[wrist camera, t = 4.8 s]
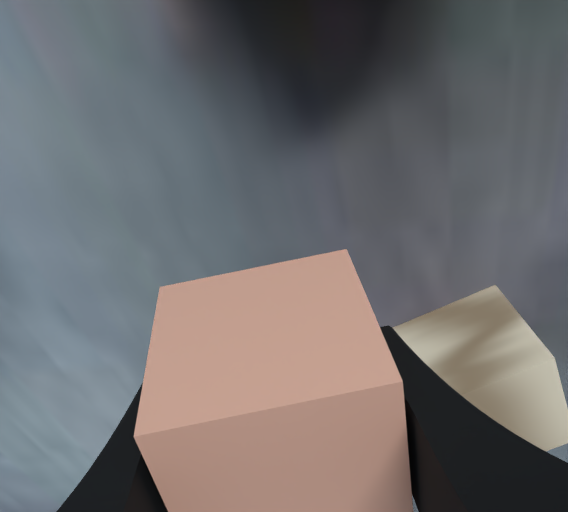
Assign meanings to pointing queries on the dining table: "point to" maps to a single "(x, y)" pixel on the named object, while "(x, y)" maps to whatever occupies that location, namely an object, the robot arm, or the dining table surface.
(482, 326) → the maple block
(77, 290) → the dining table surface
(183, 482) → the terracotta block
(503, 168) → the dining table surface
